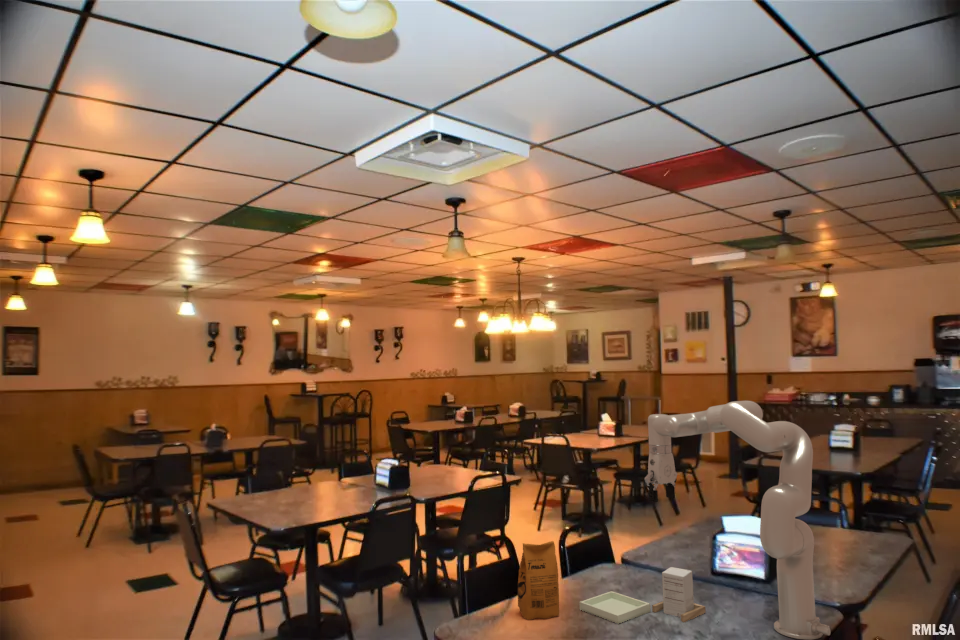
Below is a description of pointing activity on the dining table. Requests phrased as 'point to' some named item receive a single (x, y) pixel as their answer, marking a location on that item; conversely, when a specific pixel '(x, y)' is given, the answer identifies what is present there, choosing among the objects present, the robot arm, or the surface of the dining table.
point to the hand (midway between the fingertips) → (662, 499)
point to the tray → (615, 607)
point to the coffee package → (538, 582)
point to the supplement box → (677, 591)
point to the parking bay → (686, 616)
